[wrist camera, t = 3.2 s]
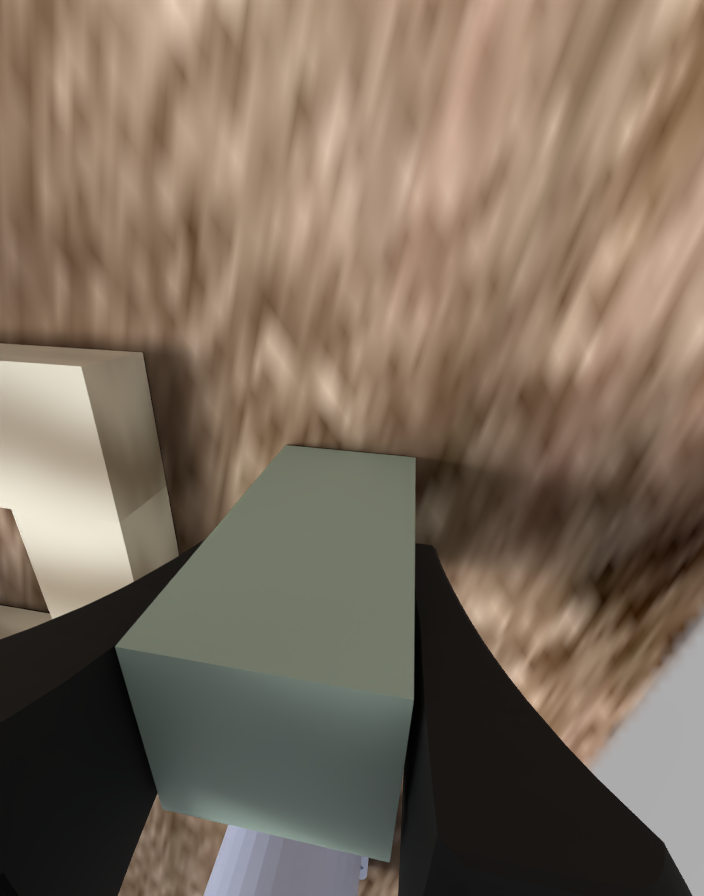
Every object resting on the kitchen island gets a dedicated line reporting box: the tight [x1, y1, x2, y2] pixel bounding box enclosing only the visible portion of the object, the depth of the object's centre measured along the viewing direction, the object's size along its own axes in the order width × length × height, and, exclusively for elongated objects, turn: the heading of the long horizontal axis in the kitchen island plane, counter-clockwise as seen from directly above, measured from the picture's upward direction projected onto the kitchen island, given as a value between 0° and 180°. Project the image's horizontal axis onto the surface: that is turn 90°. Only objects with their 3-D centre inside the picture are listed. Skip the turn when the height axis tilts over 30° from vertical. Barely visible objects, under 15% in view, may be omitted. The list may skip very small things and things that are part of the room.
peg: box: [115, 445, 416, 863], centre depth 10 cm, size 4×4×8 cm
